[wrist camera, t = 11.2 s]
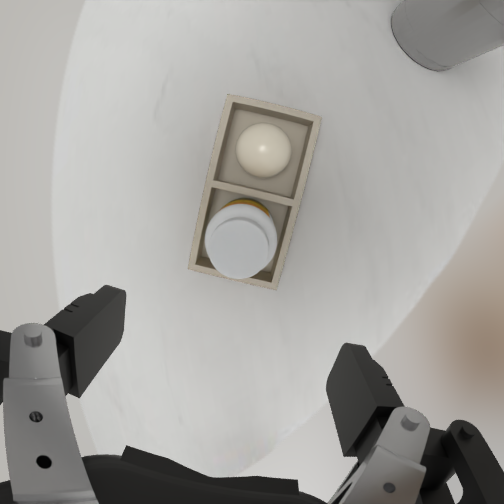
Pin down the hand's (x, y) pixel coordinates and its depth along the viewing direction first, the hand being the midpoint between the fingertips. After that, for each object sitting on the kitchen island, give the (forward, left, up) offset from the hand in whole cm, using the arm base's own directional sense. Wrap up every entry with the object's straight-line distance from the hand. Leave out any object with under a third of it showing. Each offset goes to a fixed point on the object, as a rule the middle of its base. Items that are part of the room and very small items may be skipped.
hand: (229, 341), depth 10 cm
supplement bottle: (-1, 0, -20) cm, 20 cm away
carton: (-4, 0, -20) cm, 21 cm away
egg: (-8, 0, -20) cm, 21 cm away
